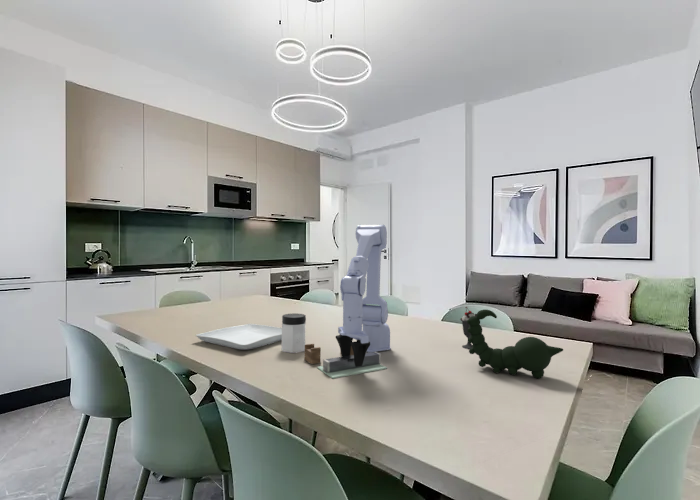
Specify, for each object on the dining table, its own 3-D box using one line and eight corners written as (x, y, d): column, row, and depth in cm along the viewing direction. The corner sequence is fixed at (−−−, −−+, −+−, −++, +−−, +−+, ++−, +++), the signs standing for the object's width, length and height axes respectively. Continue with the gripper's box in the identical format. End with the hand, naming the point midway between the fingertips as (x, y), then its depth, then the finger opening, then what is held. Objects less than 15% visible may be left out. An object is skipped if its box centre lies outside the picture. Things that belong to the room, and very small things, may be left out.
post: (313, 358, 118) (313, 343, 118) (320, 362, 114) (320, 347, 114) (304, 359, 117) (304, 344, 117) (311, 364, 112) (311, 348, 112)
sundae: (458, 348, 132) (459, 306, 132) (460, 344, 138) (461, 304, 138) (478, 350, 130) (478, 308, 130) (479, 346, 136) (479, 305, 136)
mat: (368, 359, 117) (368, 358, 117) (386, 368, 109) (386, 367, 109) (317, 368, 108) (317, 366, 108) (332, 378, 100) (332, 377, 100)
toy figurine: (467, 375, 108) (565, 386, 95) (462, 311, 109) (558, 312, 96) (475, 367, 116) (566, 375, 103) (470, 307, 117) (560, 307, 104)
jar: (286, 354, 122) (286, 318, 122) (277, 348, 129) (277, 314, 129) (310, 350, 127) (310, 316, 127) (300, 345, 134) (300, 312, 134)
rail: (375, 361, 114) (375, 351, 114) (380, 364, 112) (380, 354, 112) (322, 370, 105) (323, 359, 105) (327, 373, 103) (327, 362, 103)
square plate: (298, 339, 144) (298, 329, 144) (244, 355, 121) (244, 344, 121) (250, 330, 159) (250, 321, 159) (193, 343, 136) (193, 333, 136)
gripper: (329, 313, 113) (329, 357, 113) (353, 321, 100) (352, 371, 100) (349, 311, 116) (349, 354, 116) (374, 319, 104) (374, 367, 104)
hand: (352, 362), depth 109 cm, fingers open, 7 cm apart
